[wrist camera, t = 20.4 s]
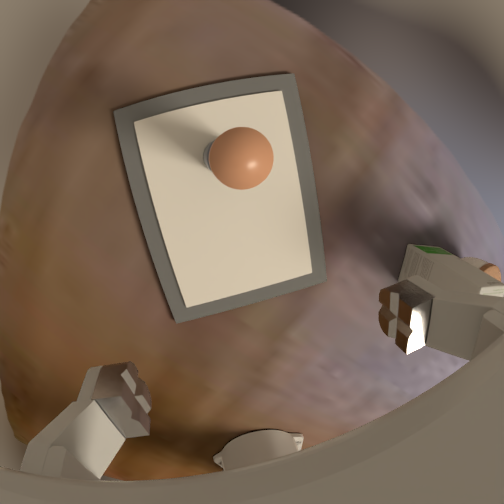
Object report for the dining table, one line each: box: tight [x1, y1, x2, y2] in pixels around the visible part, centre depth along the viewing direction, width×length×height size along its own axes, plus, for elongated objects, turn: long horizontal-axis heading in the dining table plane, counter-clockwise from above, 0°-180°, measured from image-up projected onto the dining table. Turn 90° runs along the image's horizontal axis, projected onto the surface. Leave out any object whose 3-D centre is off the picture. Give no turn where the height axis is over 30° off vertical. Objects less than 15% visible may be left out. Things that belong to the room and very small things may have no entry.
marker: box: [203, 127, 274, 190], centre depth 23 cm, size 4×4×14 cm
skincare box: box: [398, 244, 504, 297], centre depth 34 cm, size 8×7×16 cm
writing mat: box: [113, 73, 327, 323], centre depth 31 cm, size 26×20×1 cm
